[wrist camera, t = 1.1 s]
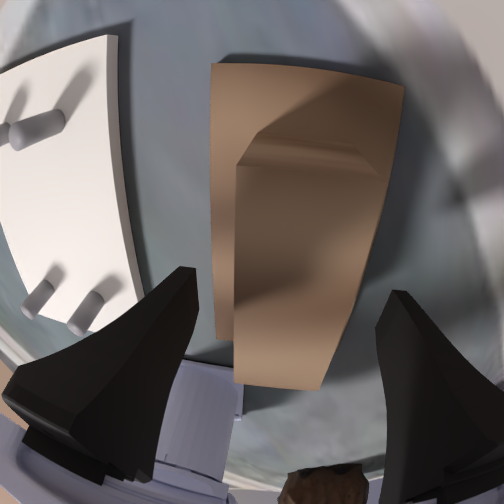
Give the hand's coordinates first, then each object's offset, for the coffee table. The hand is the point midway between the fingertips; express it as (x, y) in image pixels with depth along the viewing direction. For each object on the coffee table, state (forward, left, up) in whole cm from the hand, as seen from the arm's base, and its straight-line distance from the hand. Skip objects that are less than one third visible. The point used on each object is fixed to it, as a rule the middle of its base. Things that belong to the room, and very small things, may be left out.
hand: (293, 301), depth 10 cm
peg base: (0, +15, -5) cm, 16 cm away
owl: (-45, -13, -5) cm, 47 cm away
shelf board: (0, 0, -6) cm, 6 cm away
